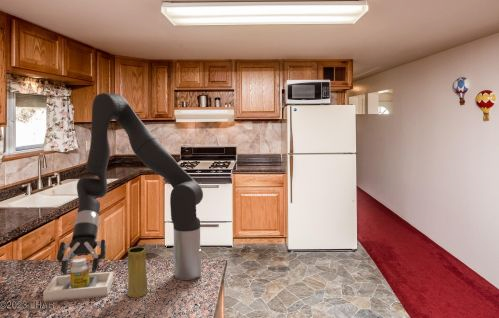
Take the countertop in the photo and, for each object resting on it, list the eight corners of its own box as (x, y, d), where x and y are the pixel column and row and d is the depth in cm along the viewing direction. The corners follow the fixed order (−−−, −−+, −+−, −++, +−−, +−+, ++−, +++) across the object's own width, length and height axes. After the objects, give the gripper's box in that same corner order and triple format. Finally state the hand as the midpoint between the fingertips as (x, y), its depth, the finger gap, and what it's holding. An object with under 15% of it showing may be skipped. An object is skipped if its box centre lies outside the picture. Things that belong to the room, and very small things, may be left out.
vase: (151, 290, 111) (150, 247, 109) (139, 299, 105) (138, 254, 103) (135, 287, 113) (134, 245, 111) (123, 295, 107) (121, 251, 105)
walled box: (113, 280, 117) (113, 271, 117) (107, 295, 107) (107, 286, 106) (55, 285, 113) (55, 276, 113) (43, 302, 103) (43, 292, 102)
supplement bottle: (88, 282, 114) (87, 255, 113) (90, 289, 109) (89, 260, 108) (70, 287, 111) (68, 258, 110) (72, 294, 107) (70, 264, 105)
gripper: (60, 222, 114) (51, 270, 104) (106, 220, 117) (101, 266, 107) (66, 233, 120) (57, 279, 110) (109, 230, 123) (105, 275, 113)
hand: (79, 272), depth 109 cm, fingers open, 8 cm apart
